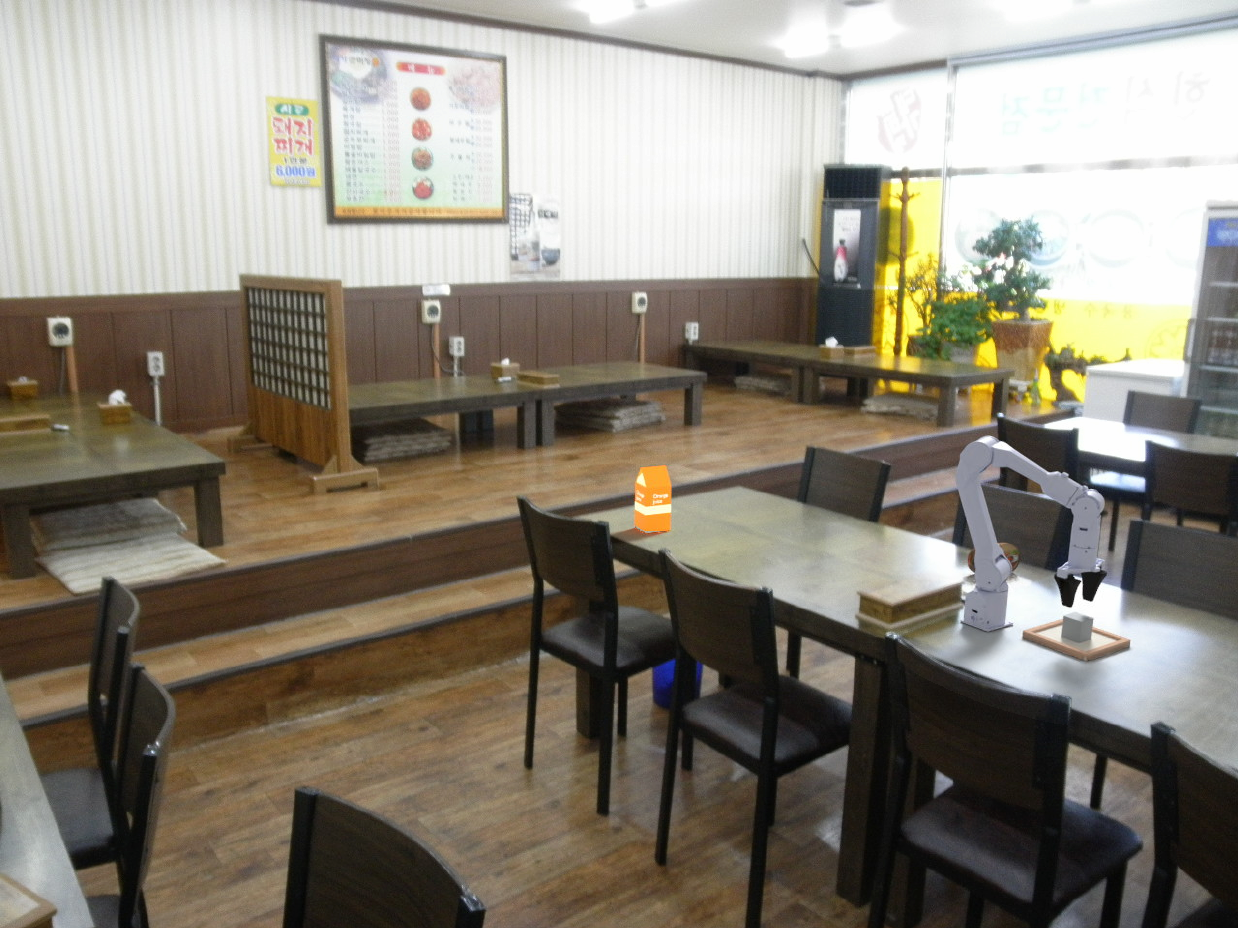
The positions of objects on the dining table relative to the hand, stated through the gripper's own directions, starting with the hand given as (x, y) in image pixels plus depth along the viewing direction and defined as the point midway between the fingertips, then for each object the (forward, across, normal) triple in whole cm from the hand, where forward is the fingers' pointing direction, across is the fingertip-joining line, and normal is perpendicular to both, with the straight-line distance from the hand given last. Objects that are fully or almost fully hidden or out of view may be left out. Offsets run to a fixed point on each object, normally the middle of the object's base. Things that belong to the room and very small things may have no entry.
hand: (1077, 603), depth 231 cm
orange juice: (+9, -31, +124) cm, 128 cm away
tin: (+9, +24, +41) cm, 49 cm away
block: (+8, 0, -1) cm, 8 cm away
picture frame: (+9, 0, -1) cm, 9 cm away
